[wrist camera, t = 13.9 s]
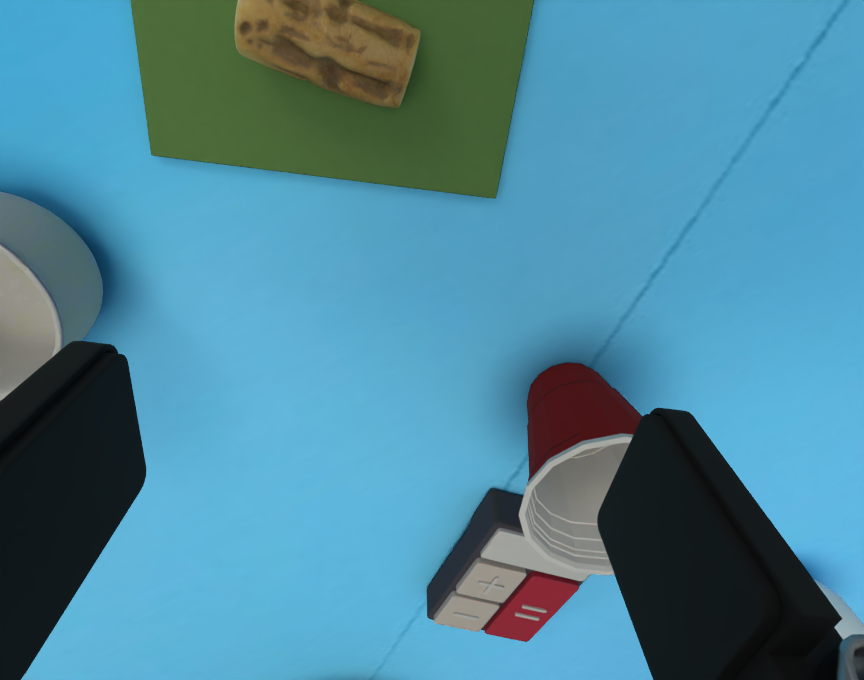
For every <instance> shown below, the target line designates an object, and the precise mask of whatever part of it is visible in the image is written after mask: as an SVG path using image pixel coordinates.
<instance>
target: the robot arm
mask: <svg viewBox="0 0 864 680" xmlns="http://www.w3.org/2000/svg"><path fill="white" fill-rule="evenodd" d="M145 477H146V464H145V458H144V453H143V447H142V441H141V435H140V430H139V424H138V418H137V412H136V406H135V401H134V395H133V389H132V383H131V378H130V372H129V366H128V361H127V358H126V357H125V355H122V354H118V351H117V349H116V348H115V347H114V346H113V345H111V344H103V343H94V342H85V341H72V342H70V343H69V344H67V345H66V346H65V347H64V348H63V349H61V350H60V351H59V352H58V353H57V354H55V355H54V356H53V357H52V358H51V359H50V360H48V361H47V362H46V363H45V364H44V365H42V366H41V367H40V368H39V369H38V370H37V371H35V372H34V373H33V374H32V375H31V376H29V377H28V378H27V379H26V380H25V381H24V382H22V383H21V384H20V385H19V386H18V387H16V388H15V389H14V390H13V391H12V392H11V393H9V394H8V395H7V396H6V397H5V398H3V399H2V400H1V401H0V680H21V678H22V677H23V676H24V674H25V673H26V671H27V670H28V668H29V667H30V665H31V663H32V662H33V660H34V659H35V657H36V656H37V654H38V652H39V651H40V649H41V648H42V646H43V644H44V643H45V641H46V640H47V638H48V636H49V635H50V633H51V632H52V630H53V629H54V627H55V625H56V624H57V622H58V621H59V619H60V617H61V616H62V614H63V613H64V611H65V610H66V608H67V606H68V605H69V603H70V602H71V600H72V598H73V597H74V595H75V594H76V592H77V590H78V589H79V587H80V586H81V584H82V583H83V581H84V579H85V578H86V576H87V575H88V573H89V571H90V570H91V568H92V567H93V565H94V563H95V562H96V560H97V559H98V557H99V556H100V554H101V552H102V551H103V549H104V548H105V546H106V544H107V543H108V541H109V540H110V538H111V536H112V535H113V533H114V532H115V530H116V529H117V527H118V525H119V524H120V522H121V521H122V519H123V517H124V516H125V514H126V513H127V511H128V509H129V508H130V506H131V505H132V503H133V502H134V500H135V498H136V497H137V495H138V494H139V492H140V490H141V488H142V487H143V484H144V481H145ZM597 525H598V530H599V533H600V536H601V539H602V541H603V544H604V547H605V550H606V552H607V555H608V558H609V560H610V563H611V566H612V569H613V571H614V574H615V577H616V579H617V582H618V585H619V588H620V590H621V593H622V596H623V599H624V601H625V604H626V607H627V609H628V612H629V615H630V618H631V620H632V623H633V626H634V628H635V631H636V634H637V637H638V639H639V642H640V645H641V648H642V650H643V653H644V656H645V658H646V661H647V664H648V667H649V669H650V672H651V675H652V677H653V680H864V634H852V635H850V636H848V637H847V638H845V639H842V637H841V636H840V634H839V633H838V632H837V630H836V629H835V626H836V625H837V624H838V623H839V622H840V621H841V620H842V617H841V616H840V615H839V613H838V612H837V611H836V609H835V608H834V607H833V605H832V604H831V603H830V601H829V600H828V598H827V597H826V596H825V594H824V593H823V592H822V590H821V589H820V588H819V586H818V585H817V584H816V582H815V581H814V579H813V578H812V577H811V575H810V574H809V573H808V571H807V570H806V569H805V567H804V566H803V565H802V563H801V562H800V560H799V559H798V558H797V556H796V555H795V554H794V552H793V551H792V550H791V548H790V547H789V546H788V544H787V543H786V541H785V540H784V539H783V537H782V536H781V535H780V533H779V532H778V531H777V529H776V528H775V527H774V525H773V524H772V522H771V521H770V520H769V518H768V517H767V516H766V514H765V513H764V512H763V510H762V509H761V508H760V506H759V505H758V503H757V502H756V501H755V499H754V498H753V497H752V495H751V494H750V493H749V491H748V490H747V489H746V487H745V486H744V484H743V483H742V482H741V480H740V479H739V478H738V476H737V475H736V474H735V472H734V471H733V470H732V468H731V467H730V465H729V464H728V463H727V461H726V460H725V459H724V457H723V456H722V455H721V453H720V452H719V451H718V449H717V448H716V446H715V445H714V444H713V442H712V441H711V440H710V438H709V437H708V436H707V434H706V433H705V432H704V430H703V429H702V427H701V426H700V425H699V423H698V422H697V421H696V419H695V418H694V417H693V415H692V414H690V413H689V412H687V411H681V410H673V409H664V408H656V409H654V410H653V411H651V413H650V414H647V415H644V416H643V417H642V418H641V420H640V422H639V424H638V426H637V428H636V431H635V433H634V435H633V437H632V439H631V441H630V444H629V446H628V448H627V450H626V452H625V455H624V457H623V459H622V461H621V463H620V465H619V468H618V470H617V472H616V474H615V476H614V479H613V481H612V483H611V485H610V487H609V489H608V492H607V494H606V496H605V498H604V500H603V503H602V505H601V507H600V509H599V512H598V517H597Z"/></svg>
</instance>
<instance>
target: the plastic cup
mask: <svg viewBox="0 0 864 680" xmlns="http://www.w3.org/2000/svg"><path fill="white" fill-rule="evenodd" d="M527 411H528V425H527V429H528V453H529V479H528V483H527V486H526V489H525V493H524V496H523V500H522V503H521V507H520V511H519V518H520V522H521V525H522V529H523V533H524V536H525V540H526V541H527V542H528V543H529V544H530V545H531V546H532V547H533V548H534V549H535V550H536V551H537V552H538V553H539V554H540V555H541V556H542V557H543V558H544V559H545V560H548V561H550V562H552V563H555V564H557V565H559V566H561V567H564V568H566V569H568V570H571V571H573V572H582V573H591V574H600V575H613V574H614V571H613V569H612V566H611V563H610V560H609V558H608V555H607V552H606V550H605V547H604V544H603V541H602V539H601V536H600V533H599V530H598V525H597V517H598V512H599V509H600V507H601V505H602V503H603V500H604V498H605V496H606V494H607V492H608V489H609V487H610V485H611V483H612V481H613V479H614V476H615V474H616V472H617V470H618V468H619V465H620V463H621V461H622V459H623V457H624V455H625V452H626V450H627V448H628V446H629V444H630V441H631V439H632V437H633V435H634V433H635V431H636V428H637V426H638V424H639V422H640V420H641V418H642V416H641V415H640V413H639V412H638V411H637V410H636V409H635V408H634V407H633V406H632V405H631V404H630V403H629V402H628V401H627V400H626V399H625V398H624V397H623V396H622V395H621V394H620V393H619V392H618V391H617V390H616V389H614V388H612V387H611V386H610V385H609V384H608V383H607V382H606V381H605V380H604V379H603V378H602V377H601V376H600V375H599V373H597V372H595V371H594V370H593V369H591V368H588V367H586V366H584V365H582V364H577V363H563V364H559V365H555V366H552V367H550V368H549V369H547V370H545V371H544V372H542V373H541V374H539V375H538V377H537V378H536V379H535V380H534V382H533V383H532V384H531V386H530V390H529V394H528V400H527Z"/></svg>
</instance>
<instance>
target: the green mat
mask: <svg viewBox="0 0 864 680" xmlns="http://www.w3.org/2000/svg"><path fill="white" fill-rule="evenodd" d="M357 1H359V2H363V3H364V4H366V5H369V6H371V7H373V8H376V9H378V10H380V11H382V12H385V13H387V14H390V15H392V16H394V17H396V18H399V19H400V20H403V21H405V22H406V23H408V24H409V25H410V26H411V27H413V28H417V29H419V30H420V32H421V35H420V41H419V46H418V50H417V54H416V58H415V62H414V65H413V69H412V72H411V76H410V79H409V82H408V85H407V88H406V91H405V94H404V97H403V100H402V103H401V105H400V106H399V107H398V108H390V107H381V106H377V105H373V104H370V103H367V102H362V101H359V100H356V99H353V98H350V97H347V96H344V95H342V94H339V93H335V92H333V91H330V90H326V89H323V88H321V87H318V86H316V85H314V84H313V83H311V82H310V81H308V80H301V79H297V78H295V77H292V76H289V75H287V74H284V73H282V72H279V71H276V70H273V69H271V68H269V67H266V66H264V65H261V64H259V63H257V62H255V61H252V60H250V59H248V58H246V57H243V56H242V55H241V54H240V53H239V52H238V51H237V48H236V44H235V15H236V7H237V2H238V0H131V6H132V14H133V21H134V29H135V36H136V44H137V51H138V59H139V66H140V74H141V81H142V89H143V96H144V104H145V111H146V119H147V126H148V134H149V141H150V149H151V155H153V156H161V157H168V158H176V159H184V160H192V161H200V162H208V163H216V164H224V165H232V166H240V167H248V168H256V169H264V170H272V171H280V172H288V173H296V174H304V175H312V176H320V177H328V178H336V179H344V180H352V181H360V182H368V183H376V184H384V185H392V186H400V187H408V188H416V189H423V190H431V191H439V192H447V193H455V194H463V195H471V196H479V197H487V198H496V195H497V190H498V184H499V179H500V174H501V169H502V164H503V159H504V153H505V148H506V143H507V138H508V133H509V128H510V122H511V117H512V112H513V107H514V102H515V97H516V91H517V86H518V81H519V76H520V71H521V66H522V60H523V55H524V50H525V45H526V40H527V35H528V29H529V24H530V19H531V14H532V9H533V4H534V0H357Z"/></svg>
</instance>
